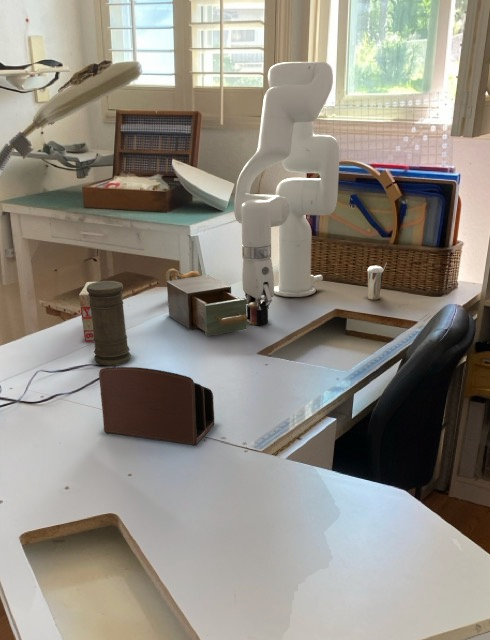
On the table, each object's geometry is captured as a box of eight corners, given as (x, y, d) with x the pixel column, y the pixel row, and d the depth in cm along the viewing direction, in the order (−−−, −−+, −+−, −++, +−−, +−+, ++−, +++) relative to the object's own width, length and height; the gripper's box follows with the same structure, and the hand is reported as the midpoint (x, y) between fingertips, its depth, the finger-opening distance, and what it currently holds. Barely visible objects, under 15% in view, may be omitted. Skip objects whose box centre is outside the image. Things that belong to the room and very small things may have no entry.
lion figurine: (175, 302, 239) (173, 271, 235) (162, 299, 243) (160, 268, 238) (210, 291, 248) (209, 261, 244) (198, 289, 252) (196, 259, 247)
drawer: (255, 334, 209) (255, 303, 205) (215, 341, 205) (213, 310, 201) (224, 316, 223) (223, 287, 219) (186, 322, 219) (184, 293, 215)
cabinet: (232, 322, 221) (231, 286, 216) (189, 329, 217) (187, 293, 212) (209, 309, 232) (208, 275, 227) (169, 316, 228) (166, 281, 223)
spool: (261, 318, 223) (261, 300, 220) (269, 323, 219) (269, 304, 216) (245, 321, 221) (245, 303, 219) (253, 326, 217) (253, 307, 215)
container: (115, 368, 193) (107, 291, 183) (86, 362, 197) (77, 287, 187) (138, 357, 199) (132, 282, 190) (110, 351, 203) (102, 278, 194)
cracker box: (97, 317, 229) (92, 273, 222) (119, 317, 229) (114, 272, 222) (84, 342, 211) (78, 293, 204) (108, 341, 210) (103, 293, 204)
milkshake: (385, 300, 234) (388, 264, 229) (367, 300, 235) (369, 265, 229) (383, 295, 238) (385, 260, 233) (364, 296, 238) (366, 261, 233)
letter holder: (196, 446, 154) (192, 375, 147) (103, 433, 161) (95, 364, 153) (215, 425, 162) (212, 357, 155) (126, 414, 168) (119, 348, 161)
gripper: (285, 256, 205) (284, 327, 215) (254, 244, 218) (255, 311, 228) (258, 260, 203) (259, 332, 212) (229, 247, 216) (231, 316, 225)
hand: (257, 320), depth 220 cm, fingers closed on spool, 4 cm apart
